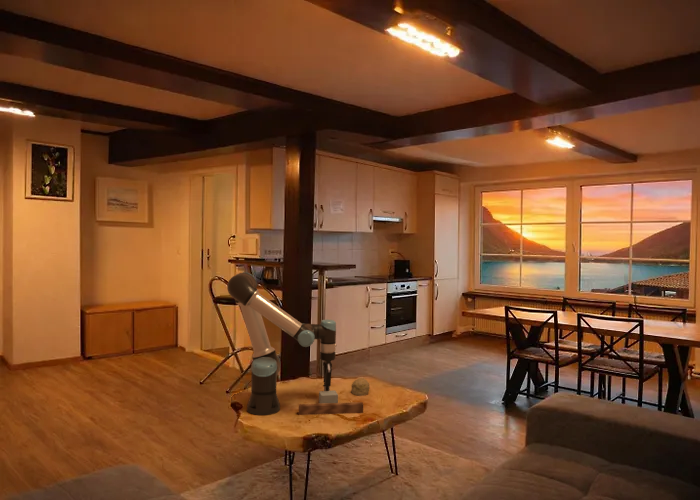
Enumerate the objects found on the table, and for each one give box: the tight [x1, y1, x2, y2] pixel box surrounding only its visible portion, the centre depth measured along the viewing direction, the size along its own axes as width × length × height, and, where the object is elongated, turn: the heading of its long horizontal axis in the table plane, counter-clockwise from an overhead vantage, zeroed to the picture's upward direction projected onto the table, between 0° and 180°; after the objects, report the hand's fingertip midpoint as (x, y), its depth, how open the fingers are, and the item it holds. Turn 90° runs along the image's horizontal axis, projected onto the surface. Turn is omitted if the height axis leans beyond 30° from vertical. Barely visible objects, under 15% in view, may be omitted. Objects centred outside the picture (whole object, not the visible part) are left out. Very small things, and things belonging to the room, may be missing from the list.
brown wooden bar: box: [297, 401, 364, 416], centre depth 249 cm, size 30×3×4 cm, turn 100°
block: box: [318, 390, 339, 404], centre depth 259 cm, size 8×7×6 cm
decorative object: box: [350, 377, 370, 397], centre depth 278 cm, size 9×10×10 cm
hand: (326, 398), depth 265 cm, fingers closed
